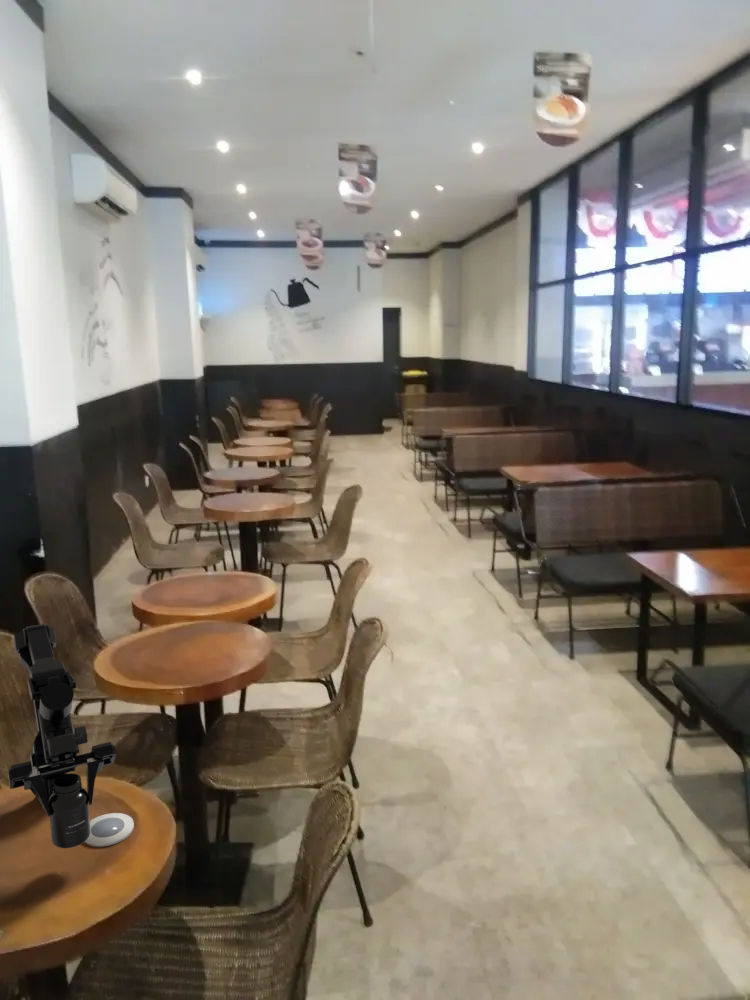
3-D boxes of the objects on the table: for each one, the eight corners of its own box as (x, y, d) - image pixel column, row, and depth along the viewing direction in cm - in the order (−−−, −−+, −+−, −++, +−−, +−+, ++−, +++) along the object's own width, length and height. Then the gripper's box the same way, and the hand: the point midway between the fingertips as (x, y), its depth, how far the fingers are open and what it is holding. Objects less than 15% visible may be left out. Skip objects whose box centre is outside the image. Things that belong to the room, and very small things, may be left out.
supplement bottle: (78, 851, 142) (72, 792, 140) (44, 847, 143) (38, 788, 141) (98, 829, 149) (93, 772, 146) (65, 825, 150) (60, 768, 148)
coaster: (75, 828, 158) (74, 824, 158) (123, 810, 164) (123, 806, 164) (91, 853, 151) (90, 849, 150) (141, 833, 156) (141, 829, 156)
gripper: (3, 726, 140) (14, 813, 133) (110, 703, 149) (126, 783, 142) (4, 746, 149) (15, 829, 141) (105, 723, 157) (120, 800, 150)
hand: (70, 810), depth 143 cm, fingers closed on supplement bottle, 7 cm apart
